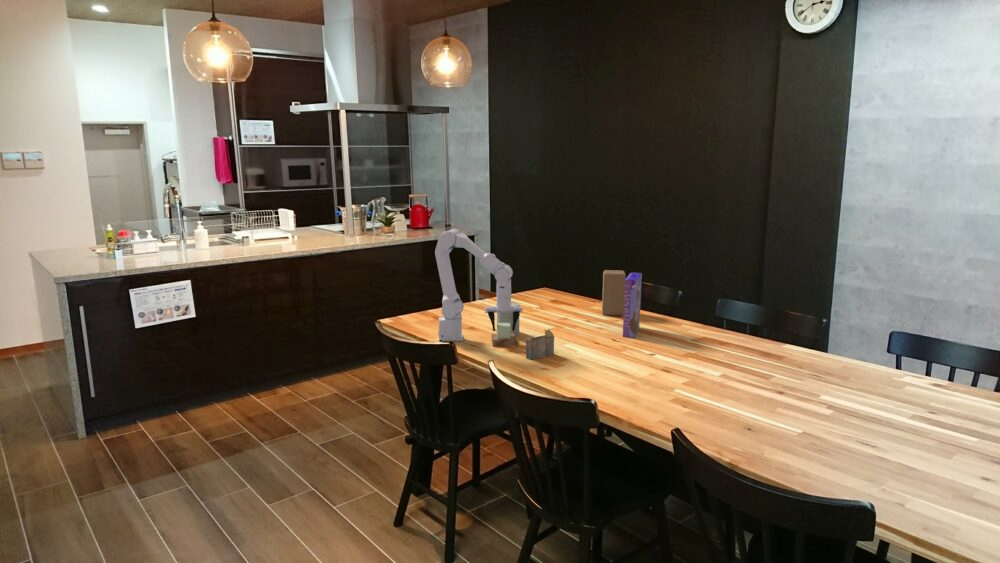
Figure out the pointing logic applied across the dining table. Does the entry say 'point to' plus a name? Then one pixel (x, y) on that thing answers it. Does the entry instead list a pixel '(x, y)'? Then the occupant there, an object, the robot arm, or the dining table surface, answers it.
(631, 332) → the cereal box
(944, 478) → the dining table surface
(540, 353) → the ruin model on sheet
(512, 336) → the walnut slab
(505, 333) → the sage cube
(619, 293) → the wooden block
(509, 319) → the grey cylinder
